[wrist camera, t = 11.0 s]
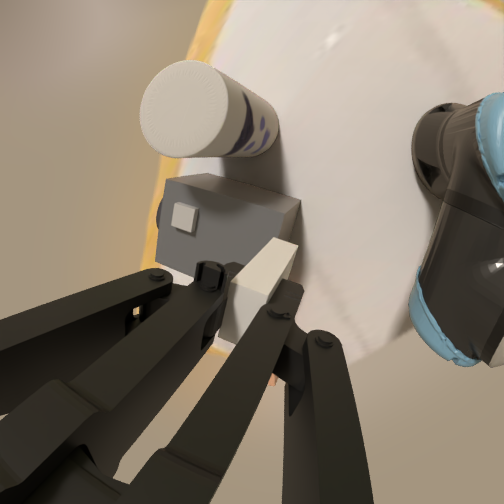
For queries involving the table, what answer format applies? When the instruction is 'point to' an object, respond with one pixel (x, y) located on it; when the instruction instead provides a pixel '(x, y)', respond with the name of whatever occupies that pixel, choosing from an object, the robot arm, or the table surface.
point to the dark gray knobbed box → (218, 221)
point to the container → (205, 114)
